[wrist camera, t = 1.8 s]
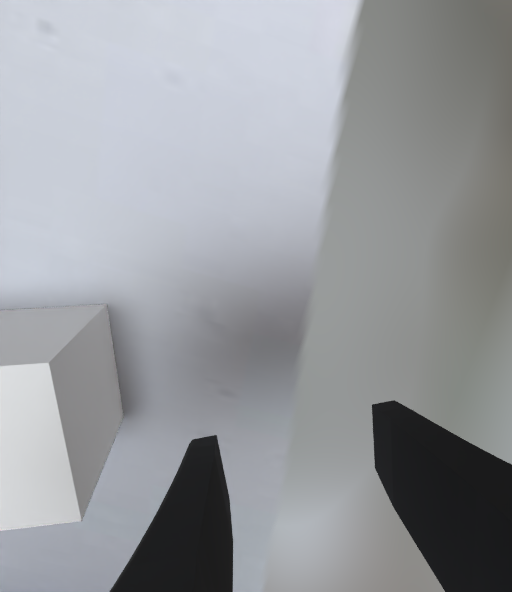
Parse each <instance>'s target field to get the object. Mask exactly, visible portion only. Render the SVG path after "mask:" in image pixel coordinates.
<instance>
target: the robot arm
mask: <svg viewBox="0 0 512 592" xmlns="http://www.w3.org/2000/svg"><path fill="white" fill-rule="evenodd" d="M372 414H373V434H374V456H375V469H376V471H377V473H378V475H379V478H380V480H381V482H382V484H383V486H384V488H385V490H386V493H387V494H388V496H389V499H390V501H391V503H392V505H393V507H394V509H395V510H396V512H397V514H398V515H399V517H400V519H401V520H402V522H403V524H404V525H405V527H406V528H407V530H408V532H409V533H410V535H411V537H412V538H413V540H414V542H415V543H416V545H417V547H418V548H419V550H420V551H421V553H422V554H423V556H424V558H425V559H426V561H427V563H428V564H429V566H430V568H431V569H432V571H433V572H434V574H435V576H436V577H437V579H438V581H439V582H440V584H441V585H442V587H443V589H444V590H445V592H512V465H511V464H509V463H507V462H505V461H503V460H501V459H499V458H497V457H495V456H494V455H492V454H490V453H488V452H486V451H484V450H482V449H480V448H478V447H477V446H475V445H473V444H471V443H469V442H467V441H465V440H464V439H462V438H460V437H458V436H456V435H454V434H453V433H451V432H449V431H448V430H446V429H444V428H442V427H441V426H439V425H437V424H435V423H433V422H432V421H430V420H428V419H427V418H425V417H423V416H421V415H419V414H418V413H416V412H414V411H413V410H411V409H409V408H407V407H405V406H403V405H402V404H400V403H398V402H396V401H389V402H384V403H379V404H373V405H372ZM110 592H233V536H232V524H231V512H230V500H229V494H228V489H227V484H226V480H225V475H224V470H223V465H222V460H221V455H220V450H219V445H218V440H217V435H214V436H209V437H204V438H199V439H194V440H192V441H191V443H190V444H189V446H188V448H187V451H186V453H185V456H184V458H183V460H182V463H181V465H180V467H179V469H178V471H177V474H176V476H175V478H174V480H173V482H172V484H171V486H170V488H169V490H168V492H167V494H166V496H165V498H164V500H163V502H162V504H161V506H160V508H159V510H158V512H157V513H156V515H155V517H154V519H153V521H152V523H151V524H150V526H149V528H148V530H147V531H146V533H145V535H144V536H143V538H142V540H141V542H140V543H139V545H138V547H137V549H136V550H135V552H134V554H133V555H132V557H131V559H130V560H129V562H128V564H127V565H126V567H125V568H124V570H123V572H122V573H121V575H120V576H119V578H118V580H117V581H116V583H115V584H114V586H113V587H112V589H111V590H110Z"/></svg>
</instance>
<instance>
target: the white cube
mask: <svg viewBox="0 0 512 592" xmlns="http://www.w3.org/2000/svg"><path fill="white" fill-rule="evenodd" d="M123 418H124V415H123V408H122V402H121V395H120V388H119V382H118V375H117V368H116V362H115V355H114V348H113V341H112V335H111V328H110V321H109V315H108V308H107V304H98V305H81V306H63V307H45V308H27V309H9V310H0V531H4V530H12V529H20V528H29V527H37V526H46V525H54V524H62V523H71V522H79V521H82V519H83V517H84V514H85V512H86V509H87V507H88V504H89V502H90V499H91V497H92V494H93V492H94V489H95V487H96V485H97V482H98V480H99V477H100V475H101V472H102V470H103V467H104V465H105V462H106V460H107V457H108V455H109V453H110V450H111V448H112V445H113V443H114V440H115V438H116V435H117V433H118V430H119V428H120V425H121V423H122V420H123Z"/></svg>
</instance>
